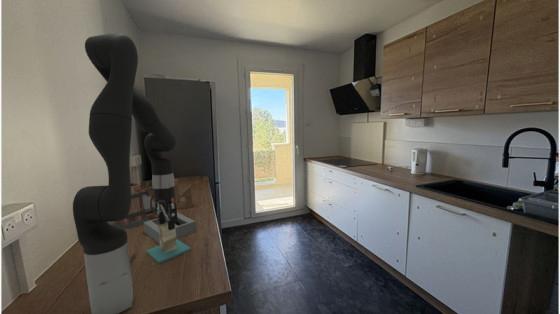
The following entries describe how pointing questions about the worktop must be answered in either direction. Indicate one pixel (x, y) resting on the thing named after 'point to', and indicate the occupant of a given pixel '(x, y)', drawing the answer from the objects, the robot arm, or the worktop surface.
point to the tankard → (135, 209)
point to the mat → (161, 256)
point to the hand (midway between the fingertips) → (166, 226)
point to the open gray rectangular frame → (182, 230)
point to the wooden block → (186, 194)
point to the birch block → (167, 238)
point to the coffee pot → (147, 200)
